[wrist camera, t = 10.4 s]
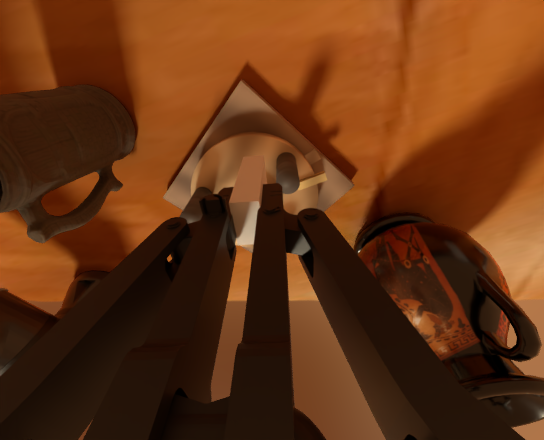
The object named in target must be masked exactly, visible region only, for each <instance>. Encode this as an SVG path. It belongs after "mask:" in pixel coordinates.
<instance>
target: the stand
mask: <svg viewBox="0 0 544 440" xmlns="http://www.w3.org/2000/svg"><path fill="white" fill-rule="evenodd" d="M244 132H261V133H266V134H271V135H274V136H277V137H280V138H282V139H284V140H286V141H288V142H289V143H290V144H292V145H293V146H295V147H296V148H297V149H298V150H299V151H300V152H301V153H302V154H303V155H304V156H305V157H306V159H307V160H308V162H309V163H310V165H311V167H312V169H313V172H314V174H317V173H320V172H322V171H324V172H325V174H326V177H327V180H326V181H324V182H321V183H318V184H317V185H318V204H317V209H319V210H322V211H323V212H324V211H325V210H326V209H328V208H329V207H330V206H331V205H332V204H334V203H335V202H336V201H337V200H338V199H339V198H341V197H342V196H343V195H344V194H345V193H346V192H348V191H349V190H350V189H351V188H352V187H353V186H354V184H353V182H352V180H351V179H350V178H348V177H347V176H346V175H345V174H344V173H343V172H342V171H341V170H340V169H339V168H338V167H337V166H336V165H334V164H333V163H332V162H331V161H330V160H329V159H328V158H327V157H326V156H325V155H324V154H323V153H322V152H321V151H319V150H318V149H317V148H316V147H315V146H314V145H313V144H312V143H311V142H310V141H309V140H308V139H307V138H305V137H304V136H303V135H302V134H301V133H300V132H299V131H298V130H297V129H296V128H295V127H294V126H293V125H292V124H290V123H289V122H288V121H287V120H286V119H285V118H284V117H283V116H282V115H281V114H280V113H279V112H278V111H276V110H275V109H274V108H273V107H272V106H271V105H270V104H269V103H268V102H267V101H266V100H265V99H264V98H263V97H261V96H260V95H259V94H258V93H257V92H256V91H255V90H254V89H253V88H252V87H251V86H250V85H249V84H247V83H246V82H245V81H244V80H243V79H242V80H241V81H240V82H239V84H238V85H237V87H236V88H235V90H234V91H233V93H232V94H231V96H230V97H229V99H228V100H227V102H226V104H225V105H224V107H223V108H222V110H221V111H220V113H219V114H218V116H217V117H216V119H215V120H214V122H213V123H212V125H211V126H210V128H209V129H208V131H207V132H206V134H205V135H204V137H203V138H202V140H201V141H200V143H199V144H198V146H197V147H196V149H195V150H194V152H193V153H192V155H191V156H190V158H189V159H188V161H187V162H186V164H185V165H184V167H183V168H182V170H181V171H180V173H179V174H178V176H177V177H176V179H175V180H174V182H173V183H172V185H171V186H170V188H169V189H168V191H167V192H166V194H165V195H164V197H163V198H164V199H165V200H167V201H169V202H170V203H172V204H173V205H175V206H177V207H178V208H180V209H182V210H184V208H185V207H186V205H187V203H188V202H189V200H190V199H191V181H192V176H193V173H194V170H195V168H196V166H197V164H198V163H199V161H200V160H201V158H202V157H203V156H204V154H205V153H206V152H207V151H208V150H209V149H210V148H211V147H212V146H213V145H214V144H216V143H217V142H219V141H220V140H222V139H224V138H226V137H229V136H231V135H234V134H239V133H244ZM241 247H243V246H241ZM243 248H245V249H246V250H248V251H250V252H251V253H253V248H249V247H243Z"/></svg>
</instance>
